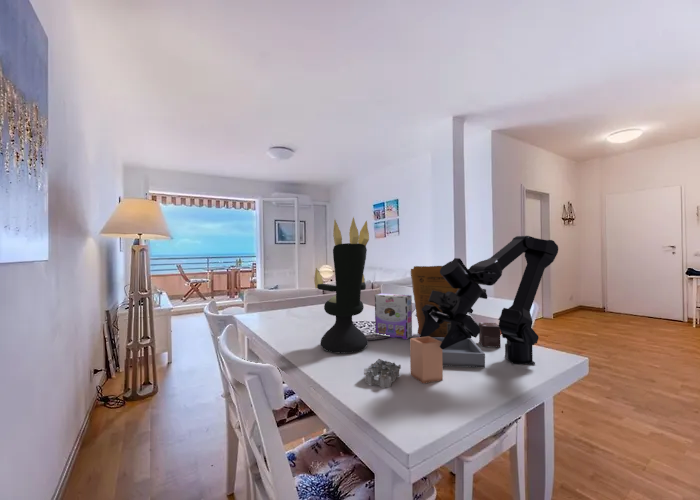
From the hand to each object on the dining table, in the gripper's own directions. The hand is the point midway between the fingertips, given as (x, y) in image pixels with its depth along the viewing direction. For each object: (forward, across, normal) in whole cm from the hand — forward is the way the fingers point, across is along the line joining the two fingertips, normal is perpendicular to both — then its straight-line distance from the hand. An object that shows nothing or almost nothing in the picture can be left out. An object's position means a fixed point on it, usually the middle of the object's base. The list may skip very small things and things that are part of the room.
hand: (430, 343), depth 84 cm
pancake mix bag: (-11, -32, +24) cm, 41 cm away
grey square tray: (-4, -11, +17) cm, 20 cm away
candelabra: (+16, -31, -2) cm, 35 cm away
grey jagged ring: (+16, -4, -2) cm, 16 cm away
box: (-19, -16, +32) cm, 41 cm away
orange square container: (+7, 0, +5) cm, 9 cm away
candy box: (0, -39, +14) cm, 42 cm away
